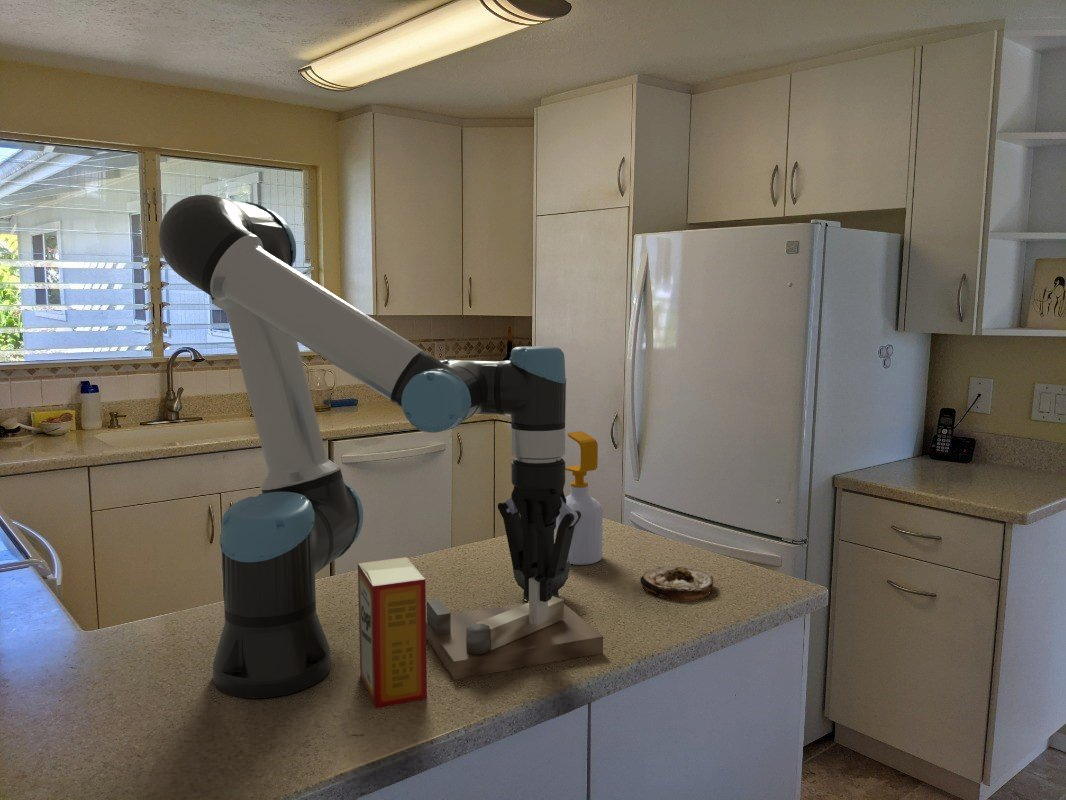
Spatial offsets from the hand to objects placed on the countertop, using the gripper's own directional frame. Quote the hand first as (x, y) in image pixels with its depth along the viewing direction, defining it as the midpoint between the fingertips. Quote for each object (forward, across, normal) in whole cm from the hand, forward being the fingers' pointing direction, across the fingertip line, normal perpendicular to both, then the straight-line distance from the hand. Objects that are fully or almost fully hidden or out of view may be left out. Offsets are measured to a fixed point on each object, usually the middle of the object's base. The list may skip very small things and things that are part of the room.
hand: (538, 621), depth 118 cm
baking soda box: (+5, +9, +20) cm, 22 cm away
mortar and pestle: (+4, +12, -18) cm, 22 cm away
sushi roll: (+5, -4, -35) cm, 36 cm away
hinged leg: (+2, +3, +2) cm, 4 cm away
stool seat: (+4, +5, 0) cm, 7 cm away
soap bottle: (+4, +18, -39) cm, 43 cm away
